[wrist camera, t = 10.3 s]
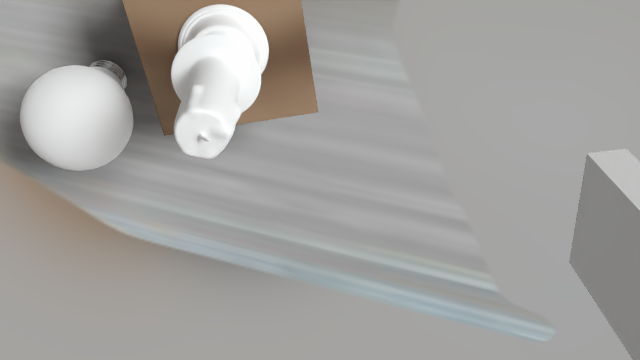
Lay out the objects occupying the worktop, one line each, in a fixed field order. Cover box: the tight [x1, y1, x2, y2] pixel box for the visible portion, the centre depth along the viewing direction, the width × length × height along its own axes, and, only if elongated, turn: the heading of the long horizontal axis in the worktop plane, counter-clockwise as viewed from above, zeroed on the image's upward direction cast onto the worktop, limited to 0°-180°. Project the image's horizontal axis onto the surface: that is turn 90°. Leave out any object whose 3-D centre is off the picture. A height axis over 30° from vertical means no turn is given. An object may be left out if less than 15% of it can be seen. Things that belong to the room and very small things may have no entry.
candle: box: [171, 4, 269, 159], centre depth 30 cm, size 5×5×12 cm
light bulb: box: [20, 60, 134, 171], centre depth 39 cm, size 7×7×11 cm
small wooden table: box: [122, 0, 318, 135], centre depth 38 cm, size 10×10×8 cm
